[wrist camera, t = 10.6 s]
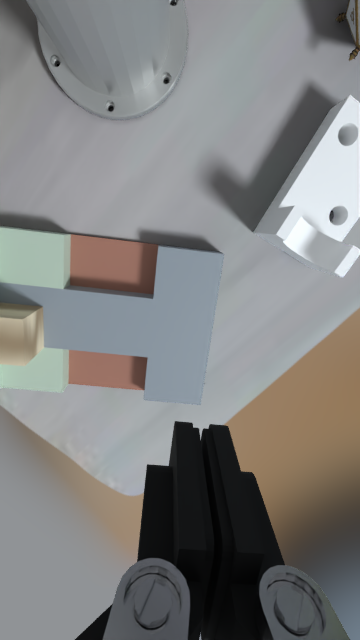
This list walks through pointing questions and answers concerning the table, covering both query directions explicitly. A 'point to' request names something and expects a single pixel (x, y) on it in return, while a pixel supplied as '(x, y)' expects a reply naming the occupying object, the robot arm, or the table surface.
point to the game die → (353, 23)
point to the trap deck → (112, 312)
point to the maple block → (20, 333)
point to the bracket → (321, 196)
